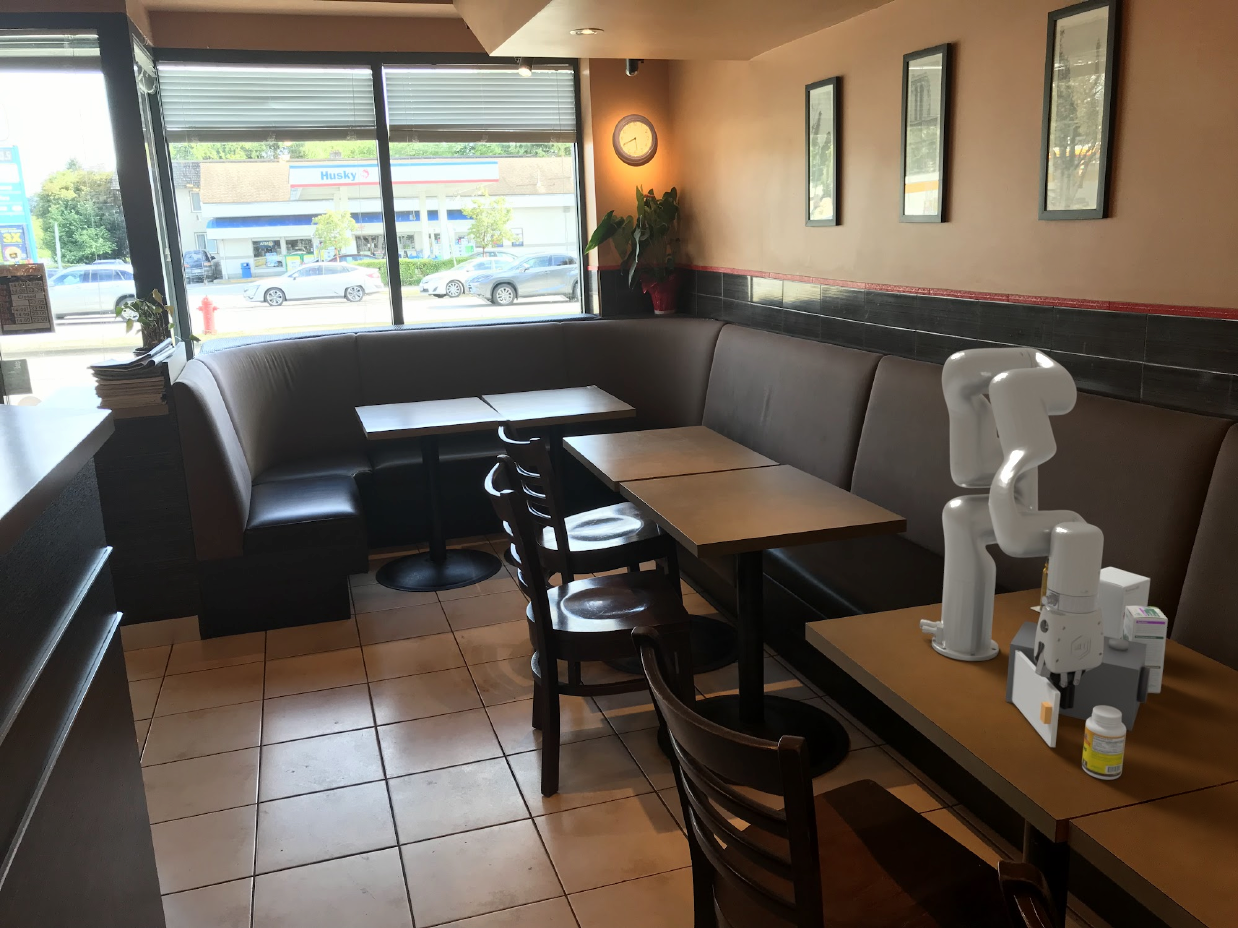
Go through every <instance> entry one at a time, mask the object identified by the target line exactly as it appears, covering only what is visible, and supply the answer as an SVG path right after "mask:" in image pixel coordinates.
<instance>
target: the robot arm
mask: <svg viewBox="0 0 1238 928" xmlns="http://www.w3.org/2000/svg"><path fill="white" fill-rule="evenodd" d="M941 385H942V392H943V397H944V400H945V403H946V407H947V410H948V411H947V412H948V415H949V466H950V467H949V469H950V475H951V479H952V481H953V483H954V484H955V485H956V486H958V487H961V488H968V489H975V488H976V489H983V488H985V489H986V488H987V489H988V488H989V493H987V494H986V493H985V494H968V495H967V494H966V495H960V496H957V497H954V498H951V499H950V500H949V501H947V502H946V504H945V505H944V507H943V509H942V516H941V519H942V528H943V535H944V568H943V569H944V571H943V572H944V573H943V585H942V587H943V589H942V602H941V603H942V604H941V617H940V618H941V619H940V620H941V621H939V620H936V621H931V620H928V619H923V618H922V619H920V622H919V628H920V629H922V633H924V634H930V635H933V636H932V638H931V646H932V649H934V651H936V652H937V653H939V654H941V655H943V656H945V657H947V658H951V659H954V660H959V661H967V662H982V661H983V662H984V661H988V660H991V659H994V658H995V657H997V655H999V649H1000V648H999V647H1000V646H999V644H998V643H997V642H996V641H995V640H993V639H992V631H993V619H994V618H993V615H994V604H995V603H994V602H995V589H996V576H997V567H996V562H995V560H994V558H993V557H992V556H991V554H990V553H989V552H988V551H987V549H986V546H987V545H992V544H993V545H994V544H998V546H999V549H1001V550H1002V552H1003V553H1004V554H1006V555H1007V556H1010V557H1013V558H1035V557H1049V567H1048V579H1047V591H1046V596H1043V597H1042V603H1043V604H1045V606H1043V608H1042V611H1041V613H1040V614H1039V617H1038V618H1039V619H1038V626H1037V631H1036V637H1035V645H1034V660H1035V662H1036V663H1037V667H1036V670H1035V673H1036V674H1038V675H1039V676H1041V677H1048V678H1050V680H1051V681H1053V686H1054V687H1055V688H1056V689H1057V690H1058V691H1059V692H1060V703H1059V707H1060V708H1062V709H1064V710H1065V709H1068V708H1069V709H1071V708H1073V705H1074V694H1075V685H1078V684H1079V682H1080V677H1081V676H1082V675H1083V674H1084V673H1085V672H1086V671H1089V670H1091V669H1093V668H1095V667H1097V666H1099V665H1100V664H1101V663H1102V659H1103V644H1104V629H1103V618H1102V613H1101V609H1100V608H1099V607H1098V606H1097V605H1098V594H1099V582H1100V572H1101V569H1102V560H1103V550H1104V541H1105V540H1104V534H1103V531H1102V529H1100V528H1099V527H1098V526H1096V525H1093V524H1090V523H1088V522H1087V521H1086V520H1085V519H1084V518H1083V517H1082V516H1081V515H1080V513H1077V512H1076V511H1073V510H1068V509H1055V510H1039V497H1038V496H1039V493H1038V492H1039V490H1038V489H1039V485H1038V484H1039V483H1038V482H1039V481H1038V480H1039V473H1038V472H1039V470H1038V469H1039V468H1038V466H1040V465H1041V464H1044V463H1045V462H1047V461H1049V460H1050V459H1051V458H1052V457H1054V455H1055V454H1056V453H1057V447H1058V446H1057V443H1056V440H1055V437H1054V433H1053V428H1052V425H1051V421H1050V418H1049V416H1060V415H1061V416H1062V415H1067V414H1068V413H1069V412H1071V411H1072V410H1073V409H1074V407H1075V405H1076V402H1077V397H1078V395H1077V393H1078V391H1077V386H1076V383H1075V381H1074V379H1073V376H1072V375H1071V373H1070V372H1069V371H1068V370H1067V369H1066V368H1065V367H1064V366H1062V364H1060V363H1059V362H1057V361H1056V360H1054V359H1053V358H1051V357H1050V356H1048V355H1047V354H1045V353H1044V352H1042V351H1041V350H1039V349H1036V348H1031V347H1001V348H1000V347H989V348H988V347H987V348H986V347H984V348H971V349H964V350H960V351H956V352H955V353H952V355H951V354H950V356H949V357H948V358H947V359H946V361H945V363H944V365H943V368H942V373H941ZM984 395H988V396H989V400H988V399H987V398H986V397H985V396H984ZM989 401H990V402H989Z"/></svg>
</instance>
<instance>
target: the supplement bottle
mask: <svg viewBox="0 0 1238 928" xmlns="http://www.w3.org/2000/svg"><path fill="white" fill-rule="evenodd" d="M1121 718H1122V713H1121V712H1120V711H1119V710H1118V709H1116V708H1114V707H1110V706H1105V705H1099V706H1095V707H1094V708H1093V713H1092V716H1091V717H1089V718H1088V719H1087V720H1085V727H1084V735H1083V745H1082V746H1083V748H1082V758H1081V768H1082V769H1083V771H1084V772H1085V773H1086V774H1088V775H1089V776H1091V777H1093V778H1096V779H1101V780H1107V781H1108V780H1110V781H1111V780H1115V779H1118V778H1119V777H1121V775H1122V773H1123V762H1124V754H1125V744H1126V735H1127V730H1126V727H1125V725H1124V724H1123V723H1122V722H1121V721H1122V719H1121Z"/></svg>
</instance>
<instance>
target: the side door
mask: <svg viewBox="0 0 1238 928" xmlns="http://www.w3.org/2000/svg"><path fill="white" fill-rule="evenodd" d="M1035 670H1036V667H1035V666H1034V665H1033V663H1032V662H1031V661H1030V660H1029V659H1028V658H1027V657H1026V656H1025V655H1024V654H1023V653H1022V652H1021V651H1020V650H1015V662H1014V674H1013V686H1012V698H1011V700H1012V701H1013V702H1014V703H1013V704H1014V705H1015V706H1016V707H1017V709H1019V711H1020V712H1021V714H1022V715H1023V716H1024V717H1025V718H1026V720H1027V721H1028V722H1029V723H1030V724H1031V726H1032V727H1033V728H1034V729H1035V731H1036V732H1037V733H1038V734H1039V735H1040V737H1041V738H1042V739H1043V740H1044V742H1045V743H1046V744H1047V745H1048V746H1049V748H1056V742H1057V734H1058V733H1057V732H1058V723H1059V721H1058V720H1059V714H1058V713H1059V703H1060V692H1059V691H1058V690H1057V689H1056V688H1055V687H1054V686H1053V685H1052V684H1051V683H1050V682H1049V680H1048V679H1047V678H1046V677H1041V676H1039V675H1038V674H1036V673H1035Z"/></svg>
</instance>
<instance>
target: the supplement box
mask: <svg viewBox="0 0 1238 928" xmlns="http://www.w3.org/2000/svg"><path fill="white" fill-rule="evenodd" d="M1150 586H1151V577H1146V576H1143V575H1139V574H1136V573H1133V572H1129V571H1126V570H1122V569H1120V568H1116V567H1113V566H1108V567H1104V568H1101V572H1100V582H1099V594H1098V605H1097V606H1098V607H1099V608H1100V609H1101V613H1102V618H1103V629H1104V636H1107V637H1112V638H1117V639H1123V627H1124V617H1125V607H1126V606H1148V602H1149V601H1148V600H1149V593H1150Z"/></svg>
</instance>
